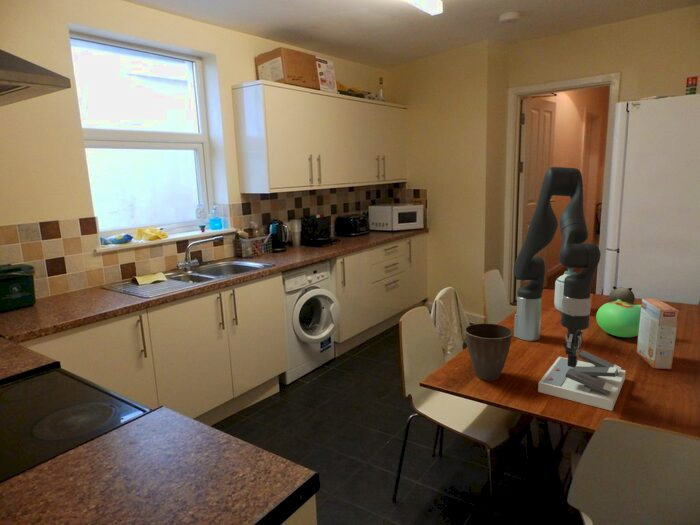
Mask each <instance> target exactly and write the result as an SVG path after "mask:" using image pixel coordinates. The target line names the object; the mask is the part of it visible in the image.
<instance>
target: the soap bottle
mask: <svg viewBox="0 0 700 525" xmlns="http://www.w3.org/2000/svg"><path fill="white" fill-rule="evenodd" d="M574 269H575V268H567V270H565V271H564V273H563V274H562V275H560V276H559V277H557V278H556V280H555V282H554V299H553V300H554V302H553V304H554V307H555V309H556V310H558V312H561V310H562V300H563V292H564V280H565V278H566V277H567V276H569V275H574V274H578V273H577V271H574Z"/></svg>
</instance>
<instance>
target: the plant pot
mask: <svg viewBox="0 0 700 525" xmlns="http://www.w3.org/2000/svg"><path fill="white" fill-rule="evenodd" d="M464 333H465V340H466V346H467V350H468V353H469V357H470V362H471V364H472V368H473V371H474V373H475V375H476V377H477V378H478V379H480V380H484V381H496V380H498V379H499V378H500V377H501V374H502V372H503V369H504V366H505V364H506V361H507V358H508V355H509V353H510V352H509V351H510V347H511V343H512V337H513V330H512V329H510V328H509V327H508V326H505V325H502V324H496V323H488V322H487V323H483V322H482V323H474V324H473V323H472V324H470V325H467V326H466V327H465V328H464Z"/></svg>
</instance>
